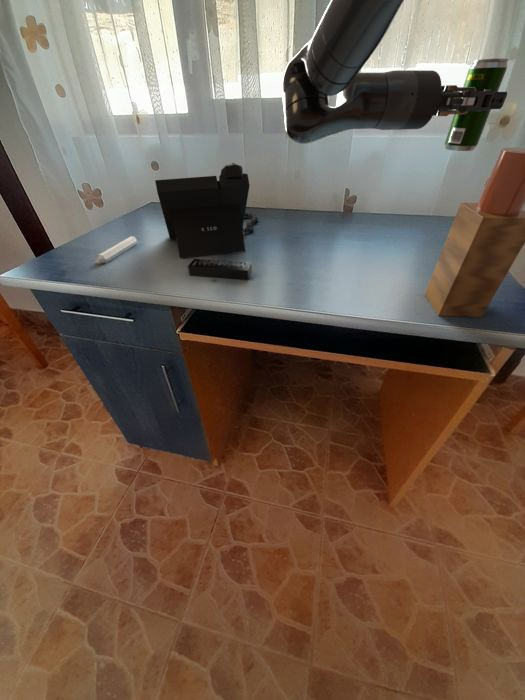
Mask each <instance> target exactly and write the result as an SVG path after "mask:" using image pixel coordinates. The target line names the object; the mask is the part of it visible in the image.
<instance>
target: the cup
mask: <svg viewBox="0 0 525 700" xmlns="http://www.w3.org/2000/svg"><path fill="white" fill-rule="evenodd" d="M477 203H478V204H477V206H476V208H477V209H478V210H480V211H482V212H485V213H489V214H494V215H502V216H514V215H518V214H519V213H520V212H521V210H523V208H524V206H525V147H503V148H501V149H500V151H499V154H498V156H497V158H496V160H495V163H494V165H493V167H492V170H491V172H490V174H489V177H488V179H487V181H486V184H485V186H484V188H483V190H482V192H481V195H480V197H479V199H478V202H477Z"/></svg>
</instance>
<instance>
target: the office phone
mask: <svg viewBox="0 0 525 700" xmlns="http://www.w3.org/2000/svg"><path fill="white" fill-rule="evenodd" d="M243 171H244V170H243V166H242V165H240V164H237V163H234V162H232V163H229V164H225V165H224V166H223V167H222V168H221V170H220V174H219V175H218V177H217V175H207V176H195V177H193V176H192V177H182V178H181V177H180V178H167V179H165V178H164V179H157V180H156V179H155V180H154V181H155V187H156V193H157V196H158V200H159V204H160V208H161V210H162V215H163V218H164V222H165V225H166V229H167V233H168V237H169V240H170V241H171V240H175V241H176V245H177V250H178V251H177V252H178V256H179V259H181V260H182V259H188V258H197V257H206V256H214V255H223V254H232V253H238V252H239V253H240V252H246V245H245V238H244V234H247V233H250V232H252V231H253V230H254V226H253V224H254V223H256V222H257V221H258V220H259V219H258V218H259V215H258V214H256V213H253V212H252V213H251V212H246V209H247V203H248V198H249V191H250V179H249V174H248V173H244V172H243ZM247 218H250V219H249V220H247V222H246V227H245V228H244V221H245V219H247Z"/></svg>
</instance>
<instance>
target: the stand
mask: <svg viewBox="0 0 525 700" xmlns="http://www.w3.org/2000/svg"><path fill="white" fill-rule="evenodd" d="M477 204H478V202H460V205H459V206H458V209H457V212H456V215H455V218H454V219H453V222H452V224H451V227H450V229H449V232H448V235H447V237H446V239H445V242H444V244H443V247H442V250H441V252H440V255H439V256H438V259H437V262H436V264H435V267H434V270H433V272H432V273H431V274H432V275H431V277H430V279H429V282H428V284H427V286H426V289H425V292H424V296H425V298H426V299H427V302H429V304H430V305H431V307H432V309H433V310H434V312H435V313H436V315H437V316H439V317H462V318H463V317H464V318H469V317H470V318H482V317H483V316H484V314H485V312H486V310H487V309H488V307H489V305H490V304H491V302H492V300H493V298H494V297H495V295H496V293H497V292H498V290H499V289H500V287H501V284H502V283H503V281H504V280H505V278H506V276H507V275H508V273H509V271H510V269H511V267H512V266H513V264H514V262H515V261H516V259H517V257H518V256H519V253H520V252H521V251H522V248H523V246H524V245H525V210H524V209H522V210H521V212H520V213H519V214H518V215H514V216H502V215H494V214H489V213H485V212H482V211H480V210H478V209H477V208H476V206H477Z"/></svg>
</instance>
